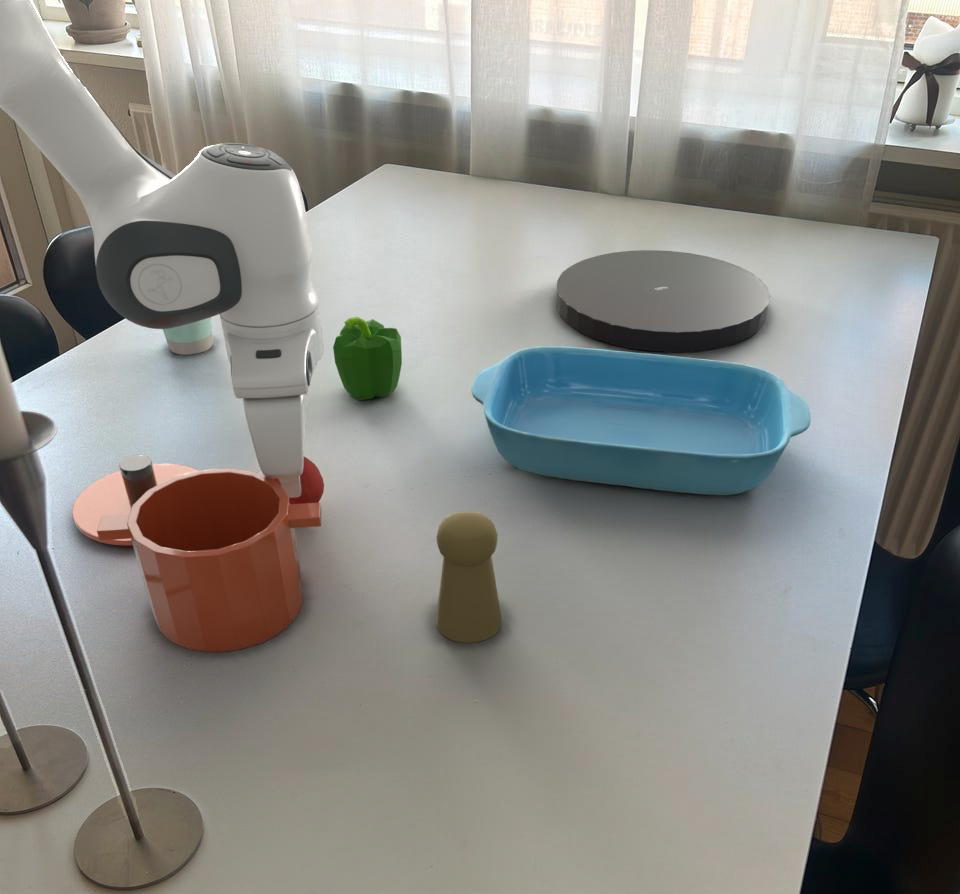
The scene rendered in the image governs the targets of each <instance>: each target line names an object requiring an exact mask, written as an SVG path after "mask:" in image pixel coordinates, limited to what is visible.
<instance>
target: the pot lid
mask: <svg viewBox="0 0 960 894" xmlns="http://www.w3.org/2000/svg"><path fill="white" fill-rule="evenodd" d="M118 469H119V470H117V471H114V472H112V473H109V474H106V475H104V476H103V477H101V478H99V479H96V480H95V481H94V482H92V483H91V484H90V485H88V486H87V487H85V488H84V490H83V491H81V493H79V494H78V496H77V498H76V499H75V501H74V502H73V506H72V510H71V512H72V519H73V522H74V524H75V526H76V528H77V529H78V531H80V533H81V534H83V535H84V536H85V537H87V538H89V539H90V540H93V541H96V542H98V543H103V544H107V545H113V546H133V544H132V541H131V539H116V540H101V541H100V540H99V537H98V533H97V529H98V526H99V523H100V520H101V517H102V516H108V515H124V514H130V511H131V508H132V506H133V505H134V504H135V503H136V502H137V501H138V500H139V499H140V498H141V497H142V496H143V495H144V494H145V493H146V492H147V491H148V490H149V489H151V488H153V487H155V486H157V485H159V484H161V483H163V482H165V481H167V480H169V479H171V478H173V477H176V476H180V475H184V474H188V473H191V472H195V471H199V470H200V469H196V468H194V467H191V466H187V465H184V464H177V463H153V461H152V459H151V457H149V456H148V455H144V454H134V455H129V456H127V457H125V458H123V459H121V460H120V462H119V463H118Z"/></svg>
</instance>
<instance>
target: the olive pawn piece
mask: <svg viewBox="0 0 960 894" xmlns="http://www.w3.org/2000/svg"><path fill="white" fill-rule="evenodd" d="M498 536H499V535H498V531H497V527H496V525H495V524H494V522H493V521H492V519H490V518H489V517H488V516H487V515H485V514H483V513H481V512H476V511H471V510H470V511H468V510H465V511H458V512H454V513H452V514H450V515H448V516H446V517H445V518H444V519H443V520H442V521H441V522H440V524H439V526H438V529H437V533H436V544H437V547H438V551H439V553H440V554H441V556H442V557H443V558H442V566H441V567H442V568H441V574H440V585H439V590H438V600H437V609H436V616H435V625H436V629H437V631H438V632H440V634H441V635H442V636H444V637H445V638H447V639H448V640H451V641H454V642H456V643H463V644H464V643H465V644H471V643H472V644H473V643H480V642H483V641H485V640H489V639H490V638H492V637H493V636H494V635H496V634H498V632H499V630H500V629H501V627H502V621H503V620H502V619H503V618H502V614H501V613H502V612H501V606H500V601H499V593H498V589H497V582H496V575H495V570H494V563H493V562H494V561H493V558H492V557H493V555H494V553H495V552H496V549H497V546H498Z"/></svg>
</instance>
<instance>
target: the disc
mask: <svg viewBox="0 0 960 894" xmlns="http://www.w3.org/2000/svg"><path fill="white" fill-rule="evenodd" d="M555 288H556V309H557V312H558V314H559V316H560V318H562V319H563V320H564V322H565V323H566V324H567V325H569V326H570V327H572V328H573V329H574V330H576V331H577V332H580V333H582V334H584V335H586V336H588V337H590V338H593V339H595V340H597V341H598V340H599V341H602V342H604V343H607V344H610V345H615V346H619V347H624V348H628V349H635V350H642V351H649V352H650V351H651V352H667V353H668V352H669V353H682V352H683V353H684V352H700V351H707V350H715V349H719V348H722V347H728V346H731V345H734V344H738V343H739V342H742V341H744V340H747V339H748V338H750V337H752V336H754V335H755V334H756V333H757V332H759V331H760V330H761V328H762V327H763V326H764V324H765V323H766V317H767V312H768V307H769V303H770V298H771V294H770V290H769V288H768V286H767V285H766V284H765V283H764V281H762V279H760V278H759V277H758V276H757V275H755V274H753V273H752V272H750V271H749V270H747V269H745V268H743V267H741V266H739V265H736V264H733V263H732V262H731V263H730V262H727V261H725V260H722V259H718V258H714V257H711V256H707V255H701V254H696V253H690V252H685V251H684V252H683V251H673V250H656V249H655V250H654V249H642V250H641V249H640V250H625V251H624V250H623V251H615V252H609V253H605V254H600V255H599V254H598V255H595V256H592V257H589V258H585V259H582V260H579V261H578V262H576V263H573V264H572V265H570V266H568V267H567V268H566V269H565V270H563V271H562V272H561V273H560V275H559V277H558V278H557V280H556V287H555Z"/></svg>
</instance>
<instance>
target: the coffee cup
mask: <svg viewBox="0 0 960 894" xmlns="http://www.w3.org/2000/svg"><path fill="white" fill-rule="evenodd" d="M162 331H163V334H164V337H165V340H166V343H167V346H168V349H169V351H170V352H172V353H174V354H178V355H183V356H191V355H192V356H193V355H197V354H202V353H205V352H207V351H208V350H210V349H211V348H212V347H213V345H214V339H213V324H212V317H210V318H207V319H204V320H200V321H197V322H194V323H190V324H186V325H182V326H179V327H174V328H169V329H162Z"/></svg>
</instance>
